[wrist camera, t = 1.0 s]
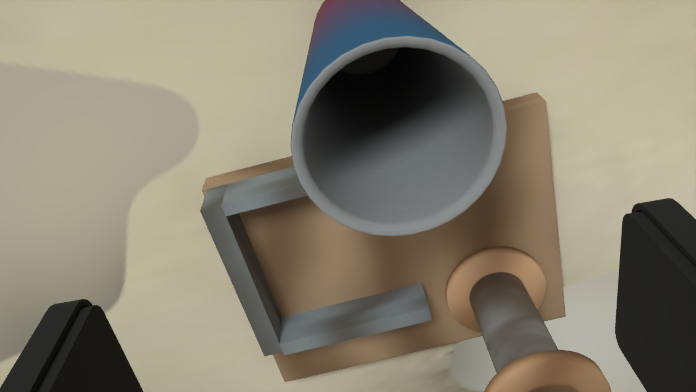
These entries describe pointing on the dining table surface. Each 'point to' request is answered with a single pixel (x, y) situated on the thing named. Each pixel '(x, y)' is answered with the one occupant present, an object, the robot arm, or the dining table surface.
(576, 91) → the dining table surface
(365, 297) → the board
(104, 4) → the dining table surface
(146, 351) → the dining table surface
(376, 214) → the cup
